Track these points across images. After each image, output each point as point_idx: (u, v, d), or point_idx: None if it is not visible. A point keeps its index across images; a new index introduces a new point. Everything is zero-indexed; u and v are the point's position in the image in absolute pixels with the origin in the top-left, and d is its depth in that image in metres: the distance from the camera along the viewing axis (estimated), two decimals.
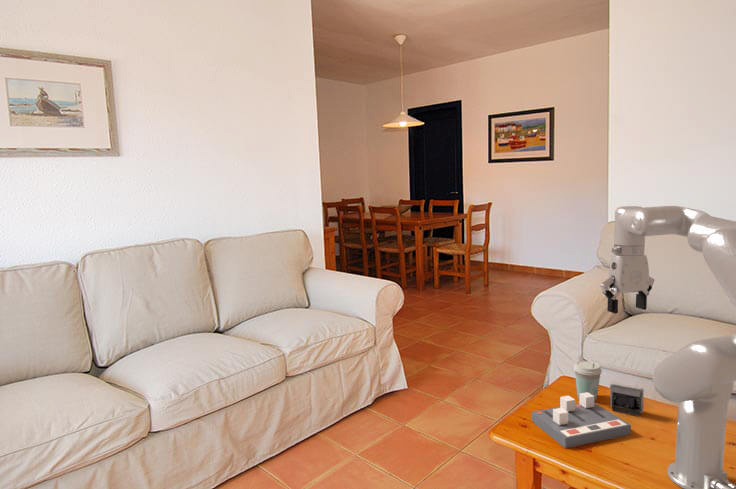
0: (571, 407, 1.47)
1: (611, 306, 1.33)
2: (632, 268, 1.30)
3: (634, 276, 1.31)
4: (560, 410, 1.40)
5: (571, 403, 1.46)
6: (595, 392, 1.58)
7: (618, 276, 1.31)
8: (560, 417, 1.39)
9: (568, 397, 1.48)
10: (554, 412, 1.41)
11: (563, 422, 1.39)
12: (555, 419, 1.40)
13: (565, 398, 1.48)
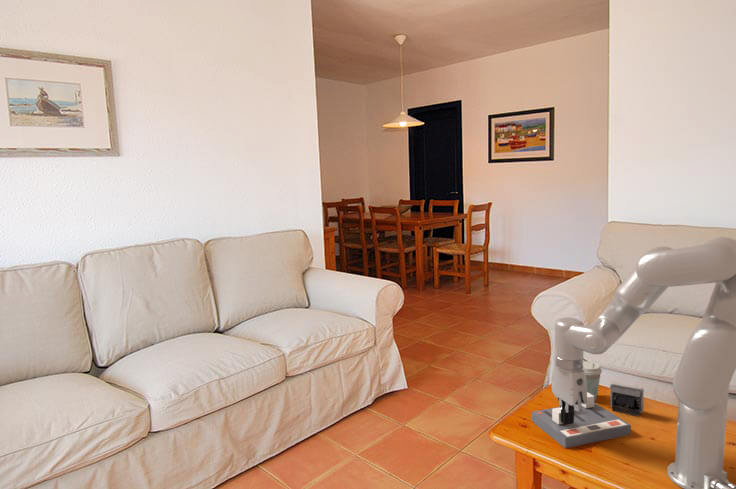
0: None
1: (572, 418, 1.36)
2: None
3: None
4: (559, 409, 1.41)
5: None
6: (595, 392, 1.58)
7: (584, 390, 1.32)
8: (559, 416, 1.39)
9: None
10: (553, 411, 1.41)
11: None
12: (555, 418, 1.41)
13: None
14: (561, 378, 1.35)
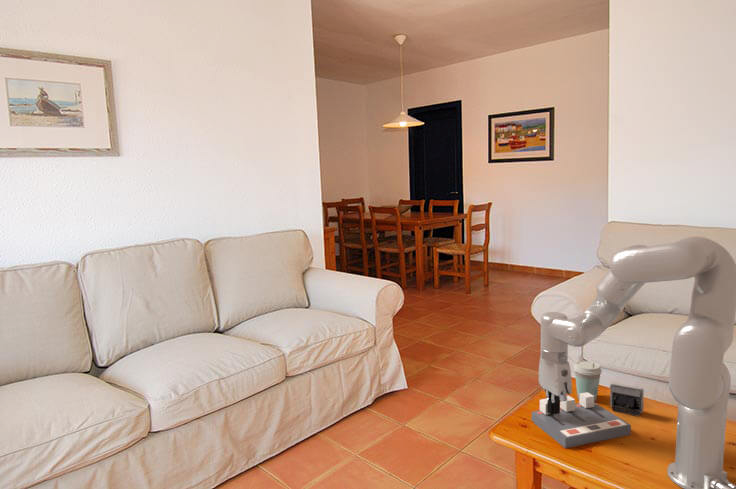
0: (571, 407, 1.47)
1: (558, 408, 1.42)
2: None
3: None
4: (546, 400, 1.47)
5: (571, 403, 1.46)
6: (595, 392, 1.58)
7: (569, 381, 1.38)
8: (546, 407, 1.45)
9: (568, 397, 1.48)
10: (541, 402, 1.47)
11: None
12: (542, 409, 1.47)
13: None
14: (547, 370, 1.41)
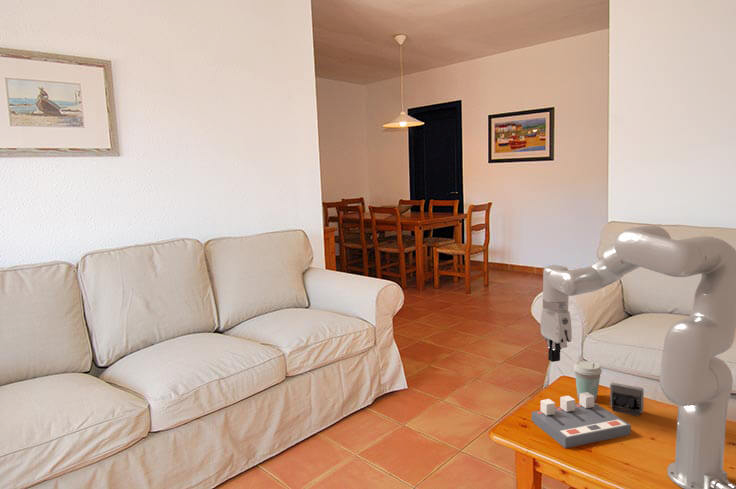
0: (571, 407, 1.47)
1: (558, 356, 1.51)
2: None
3: None
4: (547, 401, 1.46)
5: (571, 403, 1.46)
6: (595, 392, 1.58)
7: (569, 329, 1.47)
8: (547, 407, 1.44)
9: (568, 397, 1.48)
10: (542, 403, 1.46)
11: (550, 412, 1.45)
12: (543, 409, 1.46)
13: (565, 398, 1.48)
14: (548, 319, 1.50)
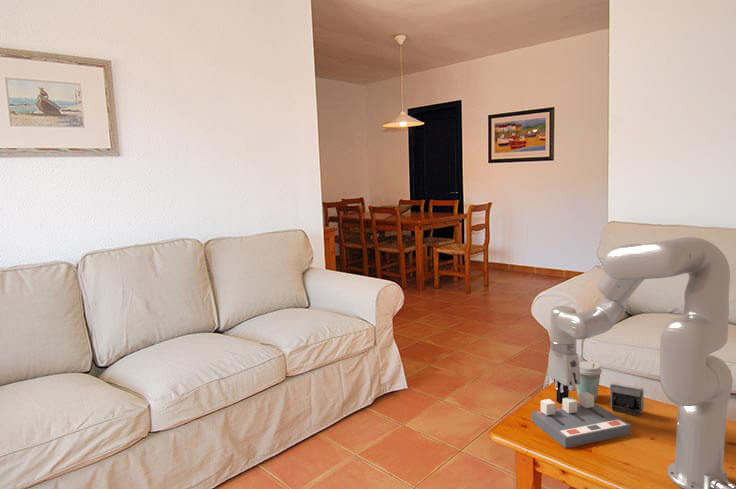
0: (573, 409, 1.46)
1: None
2: None
3: None
4: (547, 401, 1.46)
5: (573, 404, 1.45)
6: (595, 392, 1.58)
7: (577, 371, 1.45)
8: (547, 407, 1.44)
9: (570, 398, 1.47)
10: (542, 403, 1.46)
11: (550, 412, 1.45)
12: (543, 409, 1.46)
13: (567, 399, 1.47)
14: (556, 361, 1.48)
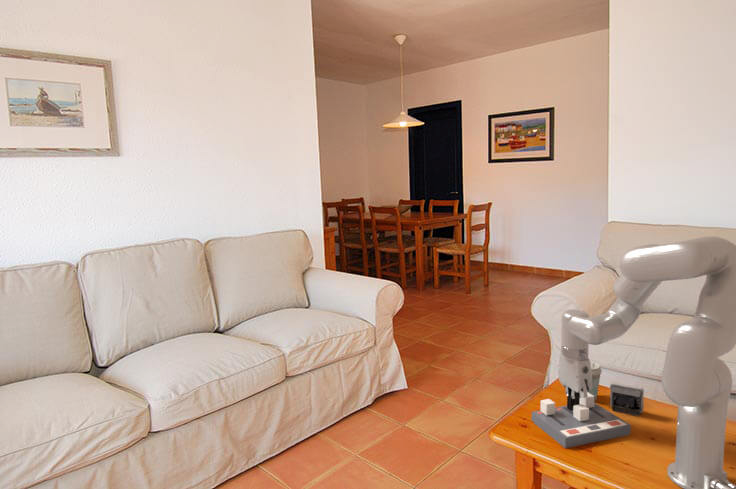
0: (585, 416, 1.41)
1: (578, 404, 1.44)
2: None
3: None
4: (547, 401, 1.46)
5: (584, 412, 1.41)
6: (595, 392, 1.58)
7: (589, 378, 1.40)
8: (547, 407, 1.44)
9: (582, 406, 1.42)
10: (542, 403, 1.46)
11: (550, 412, 1.45)
12: (543, 409, 1.46)
13: (578, 407, 1.42)
14: (567, 366, 1.43)
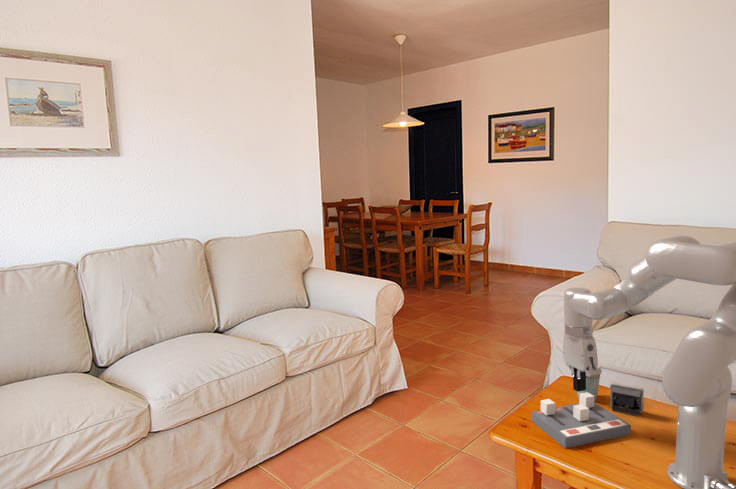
0: (585, 416, 1.41)
1: (584, 385, 1.41)
2: None
3: None
4: (547, 401, 1.46)
5: (584, 412, 1.41)
6: (595, 392, 1.58)
7: (595, 356, 1.37)
8: (547, 407, 1.44)
9: (581, 406, 1.42)
10: (542, 403, 1.46)
11: (550, 412, 1.45)
12: (543, 409, 1.46)
13: (578, 407, 1.42)
14: (572, 346, 1.40)
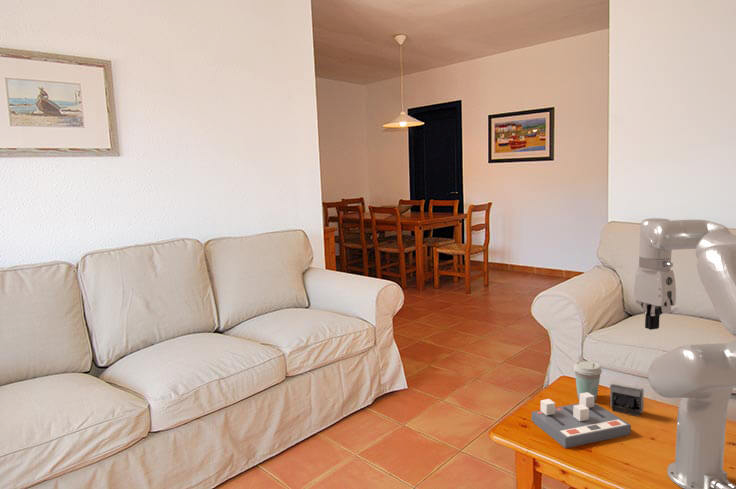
0: (585, 416, 1.41)
1: (658, 322, 1.32)
2: None
3: None
4: (547, 401, 1.46)
5: (584, 412, 1.41)
6: (595, 392, 1.58)
7: (673, 290, 1.27)
8: (547, 407, 1.44)
9: (581, 406, 1.42)
10: (542, 403, 1.46)
11: (550, 412, 1.45)
12: (543, 409, 1.46)
13: (578, 407, 1.42)
14: (647, 280, 1.30)
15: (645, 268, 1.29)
